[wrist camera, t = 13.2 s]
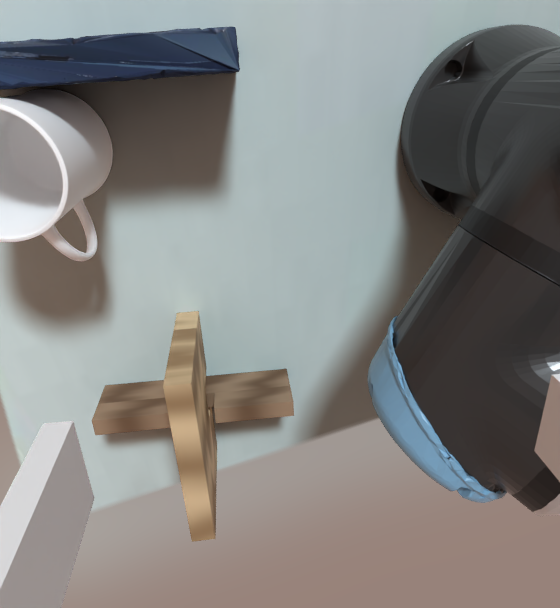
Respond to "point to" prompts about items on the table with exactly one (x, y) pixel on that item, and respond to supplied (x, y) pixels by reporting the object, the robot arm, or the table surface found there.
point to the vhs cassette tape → (118, 57)
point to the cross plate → (192, 425)
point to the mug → (50, 166)
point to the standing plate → (220, 394)
